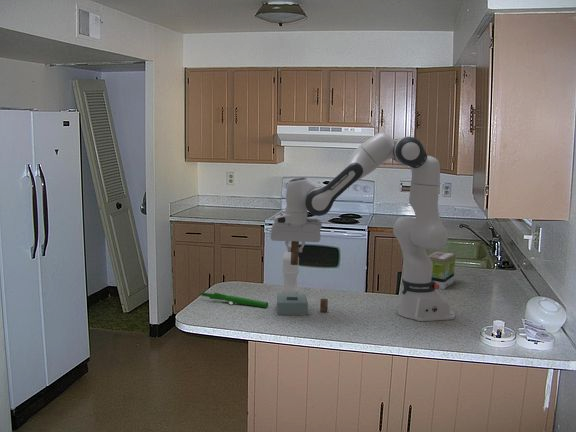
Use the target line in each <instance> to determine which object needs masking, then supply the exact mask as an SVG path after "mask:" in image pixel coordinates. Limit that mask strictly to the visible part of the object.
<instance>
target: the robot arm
mask: <svg viewBox="0 0 576 432" xmlns="http://www.w3.org/2000/svg"><path fill="white" fill-rule="evenodd" d="M390 159H392V160H393V161H395V162H396V163H398V164H400V165H402V166H407V167H409V168H410V171H411V180H410V187H409V197H408V202H409V205H410V207H411V208H412V210H413V211H414V215H415V217H413V216H403V217H399V218H397V220H396V221H395V222H394V224H393V227H392V232H393V236H394V237H395V238H396V240H397V241H398V244H399V246H400V249H401V254H402V258H403V278H402V280H401V288H400V289H401V290H400V291H401V298H400V302H399V306H398V310H397V314H398V315H400V316H401V317H404V318H407V319H410V320H411V319H413V320H414V321H418V322H431V321H433V322H435V321H446V320H448V321H450V320H454V319H455V318H456V315H455V314H456V313H455V312H454V311H453V309H450V305H449V301H448V299H447V297H445V296H444V295H443V294H441V293H440V292H439V291H438V290H440V289H439V288H440V286H439V284H437V283H435V282H434V281H432V280H431V278H432V261H431V259H430V258H429V256H428V255H429V254H428V253H427V251H426V250H435V251H436V250H441V249H443V248H444V247H445V245H446V244H447V242H448V237H449V235H448V234H449V233H448V230H447V228H446V227H445V225H444V224H443V222H442V220H441V216H440V211H439V193H440V184H441V168H440V167H441V166H440V161H439V160H438V159H437V158H436V157H434V156H432V155H428V154H427V152H426V150H425V147H424V145H423V143H422V142H421V141H420V140H419V139H418V138H416V137H413V136H402V137H401V138H395V139H394V138H392V137H391V135H389V134H388V133H386V132H383V131H382V132H378V133H376V134H374V135H373V136H371V137H369V138H368V139H366V140H365V141H364V142H362V144H360V145H359V146H358V147H357V148H355V150H354V151H352V153H351V154H350V156H349V157H348V158H347V161H346V163H345V165H344V166H343V169H342V170H341V171H340V172H339V173H338V174H337V175H336V176H335V177H334V178H333V179H332V180H330V181H329V182H328V183H327V184H326V185H325V186H319V185H317V184H315V183H313V182H311V181H310V180H309V179H308V178H306V177H297V178H293V179H291V180H289V182H287V185H286V191H285V203H286V207H285V211H284V213H281V214H278V215H275V216H274V217H273V218H274V219H273V220H274V222H273V223H272V225H271V230H270V236H269V238H270V240H271V241H273V242H274V241H275V242H285V243H284V244H285V246H286V249H287V248H288V252H291V247H289V246H288V244H289V241H298V242H299V243H300V242H301V245H300V246H299V251H298V253H303V249H304V247H305V245H306V243H319V242H320V241H321V229H322V226H323V225H322V221H321V220H320V219H317V218H308V212H309V214H311V215H313V216H316V217H321V216H324V215H326V214H328V213H329V212H330V210H331V209H332V207H333V205H334V203H335V201H336V200H337V198H338V197H339V196H341V195H342V194H343V193H344V192H345V191H346V190H348V189H349V188H350V187H351V186H352V185H353V184H355V183H356V182H358V181H359V180H361V179H363V178H365V177H366V176H368V175H370V174H371V173H372V172H374V171H375V170H376V169H378V168H379V167H380V166H381V165H382V164H384V163H385V162H386V161H388V160H390Z"/></svg>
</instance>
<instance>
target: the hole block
mask: <svg viewBox="0 0 576 432" xmlns="http://www.w3.org/2000/svg"><path fill="white" fill-rule="evenodd" d="M308 304H309V303H308V298H307V294H304V293H303V294H301V293H298V294H283V293H281V294H280V293H279V294H278V293H277V295H276V311H277V314H276V315H277V316H308V315H309V313H308V309H309V306H308Z"/></svg>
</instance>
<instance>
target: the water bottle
mask: <svg viewBox="0 0 576 432" xmlns="http://www.w3.org/2000/svg"><path fill="white" fill-rule="evenodd" d="M291 242H292V241H289V244H288V246H289V247H291ZM299 263H300V257H299V256H298V265H291V252H288V248H287V247H286V250H285V252H284V254H283V256H282V274H283V285H282V289H281V291H282V294H299V287H298V275H299V272H300V271H299V270H300V269H299V268H300V267H299Z"/></svg>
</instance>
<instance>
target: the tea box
mask: <svg viewBox="0 0 576 432" xmlns="http://www.w3.org/2000/svg"><path fill="white" fill-rule="evenodd" d="M427 255H428V256H429V258H430V259H431V261H432V278H431V280H432V281H434V282H435V283H437V284H439V286H440V288H439V289H438V290H445V289H446V288H447V287H449V286H450V285H452V284H453V283H454V281H455V280H454V279H455V278H454V277H455V267H456V266H455V265H456V254H455V253H451V252H443V251H436V250H435V252H432V253H431V254H427Z"/></svg>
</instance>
